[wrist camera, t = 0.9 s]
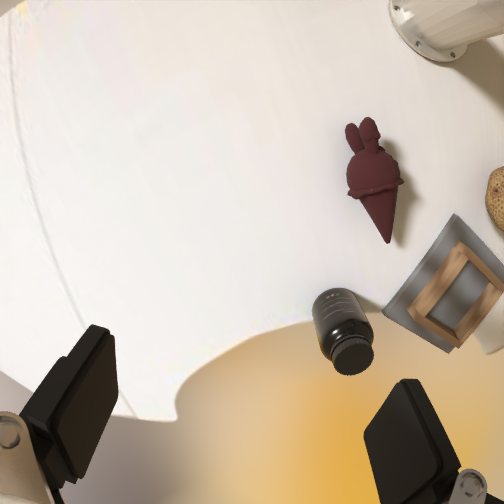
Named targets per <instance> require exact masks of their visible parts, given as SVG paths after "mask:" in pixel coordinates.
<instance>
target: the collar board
mask: <svg viewBox="0 0 504 504" xmlns="http://www.w3.org/2000/svg"><path fill="white" fill-rule="evenodd" d="M503 292H504V265H503V264H502V263H501V262H500V260H499V259H498V258H497V257H496V256H495V255H494V254H493V252H492V251H491V250H490V249H489V248H488V247H487V246H486V245H485V244H484V243H483V241H482V240H481V239H480V238H479V237H478V236H477V235H476V234H475V233H474V232H473V231H472V230H471V229H470V228H469V227H468V226H467V225H466V224H465V223H464V222H463V221H462V220H461V219H460V218H459V217H458V216H457V215H455V214H453V215H452V217H451V218H450V220H449V221H448V223H447V224H446V226H445V227H444V229H443V230H442V232H441V233H440V235H439V236H438V238H437V239H436V241H435V242H434V244H433V245H432V246H431V248H430V249H429V251H428V252H427V253H426V255H425V256H424V258H423V259H422V260H421V262H420V263H419V265H418V266H417V267H416V269H415V270H414V271H413V273H412V274H411V275H410V277H409V278H408V279H407V281H406V282H405V283H404V284H403V286H402V287H401V288H400V290H399V291H398V292H397V293H396V295H395V296H394V297H393V298H392V300H391V301H390V302H389V303H388V305H387V306H386V307H385V308H384V309H383V311H382V312H383V314H384V316H386V317H387V318H389V319H391V320H393V321H394V322H396V323H398V324H399V325H401V326H403V327H405V328H406V329H408V330H410V331H411V332H413V333H415V334H416V335H418V336H420V337H421V338H423V339H425V340H426V341H428V342H430V343H431V344H433V345H435V346H436V347H438V348H440V349H441V350H443V351H445V352H446V353H448V354H449V353H450V352H451V351H452V350H453V348H454V347H457V348H460V346H461V345H462V344H463V343H464V341H465V340H466V339H467V338H468V337H469V336H470V335H471V334H472V332H473V331H474V330H475V329H476V327H477V326H478V325H479V324H480V322H481V321H482V320H483V319H484V317H485V316H486V315H487V314H488V312H489V311H490V310H491V308H492V307H493V306H494V304H495V303H496V302H497V300H498V299H499V297H500V296H501V295H502V293H503Z"/></svg>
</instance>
